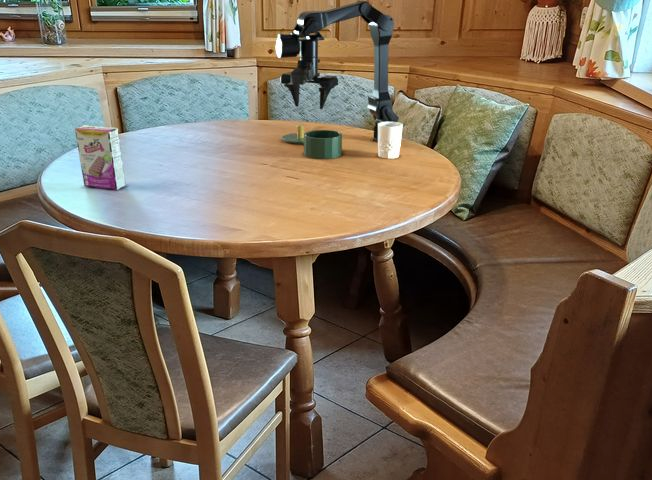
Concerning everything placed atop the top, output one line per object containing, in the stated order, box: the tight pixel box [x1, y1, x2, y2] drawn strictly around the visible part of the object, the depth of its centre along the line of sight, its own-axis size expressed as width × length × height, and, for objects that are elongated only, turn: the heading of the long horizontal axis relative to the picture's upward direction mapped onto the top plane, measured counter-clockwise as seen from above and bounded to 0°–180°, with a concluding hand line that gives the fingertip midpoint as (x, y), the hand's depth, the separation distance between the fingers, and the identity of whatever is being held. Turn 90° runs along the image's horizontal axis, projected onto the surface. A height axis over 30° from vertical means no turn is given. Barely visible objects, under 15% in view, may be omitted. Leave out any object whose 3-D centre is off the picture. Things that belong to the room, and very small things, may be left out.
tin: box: [303, 129, 343, 160], centre depth 236 cm, size 12×12×6 cm
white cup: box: [377, 121, 404, 159], centre depth 233 cm, size 8×8×10 cm
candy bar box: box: [74, 124, 126, 191], centre depth 204 cm, size 11×5×16 cm, turn 71°
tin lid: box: [281, 124, 306, 145], centre depth 253 cm, size 13×13×5 cm
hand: (309, 107), depth 238 cm, fingers open, 9 cm apart
